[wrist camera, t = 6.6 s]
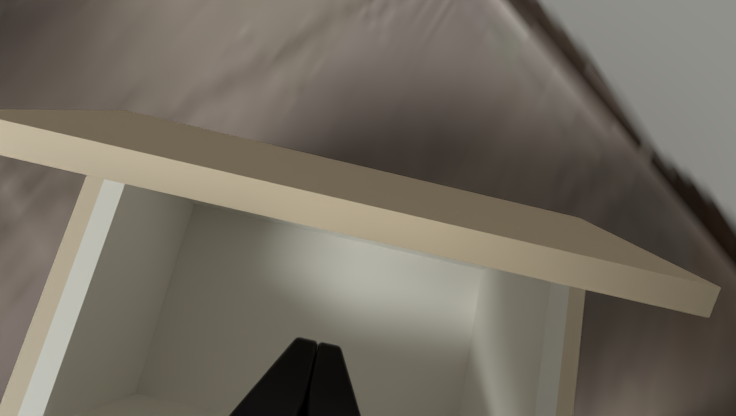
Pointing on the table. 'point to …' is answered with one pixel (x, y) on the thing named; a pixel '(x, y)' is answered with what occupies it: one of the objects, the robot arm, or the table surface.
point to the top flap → (349, 201)
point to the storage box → (279, 317)
